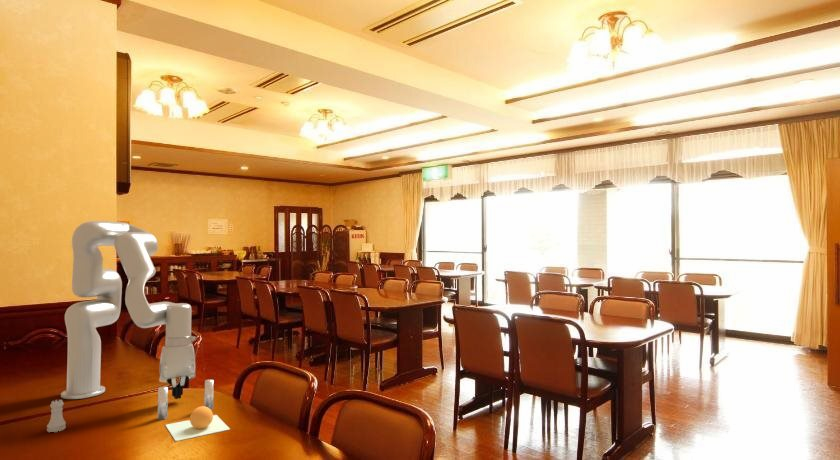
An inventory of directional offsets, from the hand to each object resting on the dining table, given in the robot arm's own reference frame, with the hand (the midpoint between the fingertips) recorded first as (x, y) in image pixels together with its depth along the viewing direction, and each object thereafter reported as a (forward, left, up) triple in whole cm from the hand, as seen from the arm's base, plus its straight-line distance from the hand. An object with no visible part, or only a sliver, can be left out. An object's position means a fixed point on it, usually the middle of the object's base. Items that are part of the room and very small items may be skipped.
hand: (177, 397), depth 162 cm
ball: (+28, +1, +2) cm, 28 cm away
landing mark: (+27, 0, -2) cm, 27 cm away
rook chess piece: (+6, -32, -2) cm, 33 cm away
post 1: (+13, -6, -2) cm, 15 cm away
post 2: (+13, +7, -2) cm, 15 cm away
